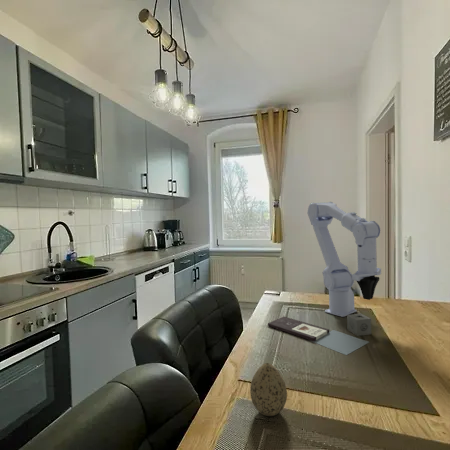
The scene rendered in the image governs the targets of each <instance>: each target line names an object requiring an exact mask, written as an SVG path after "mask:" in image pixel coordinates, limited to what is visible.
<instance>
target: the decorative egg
mask: <svg viewBox="0 0 450 450" xmlns="http://www.w3.org/2000/svg"><path fill="white" fill-rule="evenodd" d="M287 394H288V392H287V386H286V383H285V381H284V378H283V376H282V374H281V373H280V371H279V370H278V369H277V368H276V367H275V366H274V365H273V364H271V363H269V362H266V363H263V364H261V366H259V368H257V370H256V371H255V373H254V375H253V377H252V379H251V382H250V393H249V395H250V399H251V402H252V405H253V406H254V408H255V409H256V411H258V413H260V414H261V415H263V416H265V417H274V416H276V415H278V414H280V413H281V412H282V411H283V409H284V407H285V406H286V403H287V399H288V398H287V397H288V395H287Z"/></svg>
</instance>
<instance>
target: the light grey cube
mask: <svg viewBox="0 0 450 450" xmlns="http://www.w3.org/2000/svg"><path fill="white" fill-rule="evenodd" d="M346 320H347V321H346V323H347V324H346V325H347V326H346V327H347V331H349V333H352V334H353V335H355V336H356V337H358V336H366V335H367V336H368V335H372V318H370V317H368V316H366V315H365V314H363V313H354V314H353V313H351V314H349V315H347V317H346Z"/></svg>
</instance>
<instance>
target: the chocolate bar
mask: <svg viewBox="0 0 450 450" xmlns="http://www.w3.org/2000/svg"><path fill="white" fill-rule="evenodd" d="M267 327H269V328H273V329H276V330H278V331H282V332H284V333H287V334H290V335H293V336H297V337H299V338H303V339H305V340H308V341H310V340H311V341H310V342H312V341H315V340H317V339H319V338H321V337H322V336H324V335H326V334H327V333H329V332H330V329H329V328H325V327H321V326H318V325H315V324H311V323H308V322H304V321H301V320H298V319H294V318H290V317H288V316H287V317H286V316H282V317H279V318H277V319H274V320H273V321H269V322H268V323H267Z"/></svg>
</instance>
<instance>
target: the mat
mask: <svg viewBox="0 0 450 450" xmlns="http://www.w3.org/2000/svg"><path fill="white" fill-rule="evenodd" d="M309 342H312V343H315V344H316V345H319V346H321V347H324V348H327V349H329V350H332V351H334V352H337V353H340V354H342V355H344V356H348V355H349V354H351V353H354V352H355V351H357V350H358V349H360V348H362V347H365V345H368V344H369V343H370V341H367V340H364V339H361V338H358V337H357V336H356V337H355V336H354V335H353V336H352V335H350V334H346V333H344V332H341V331H338V330H335V329H332V330H331V331H330V330H329V333H327V334H326V335H324V336H322V337H321V338H319V339H317V340H315V341H311V340H309Z"/></svg>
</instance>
